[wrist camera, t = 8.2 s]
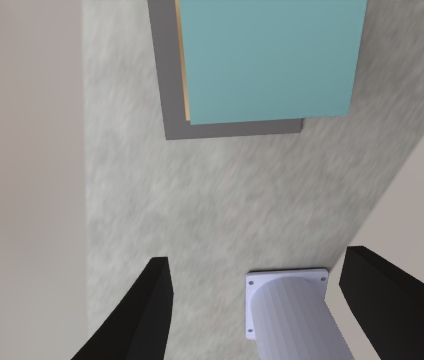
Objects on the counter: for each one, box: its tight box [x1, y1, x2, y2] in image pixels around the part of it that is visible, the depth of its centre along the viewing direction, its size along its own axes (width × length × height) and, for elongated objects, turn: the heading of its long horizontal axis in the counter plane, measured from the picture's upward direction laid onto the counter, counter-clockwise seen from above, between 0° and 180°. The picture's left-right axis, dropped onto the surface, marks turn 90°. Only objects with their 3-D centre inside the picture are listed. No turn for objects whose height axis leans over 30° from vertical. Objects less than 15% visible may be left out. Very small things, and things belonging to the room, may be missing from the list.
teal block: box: [179, 0, 367, 125], centre depth 8 cm, size 4×4×4 cm
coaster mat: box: [148, 0, 302, 140], centre depth 16 cm, size 10×10×1 cm
